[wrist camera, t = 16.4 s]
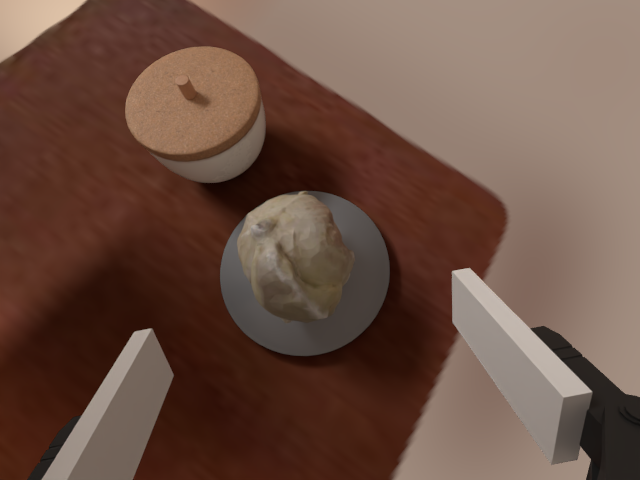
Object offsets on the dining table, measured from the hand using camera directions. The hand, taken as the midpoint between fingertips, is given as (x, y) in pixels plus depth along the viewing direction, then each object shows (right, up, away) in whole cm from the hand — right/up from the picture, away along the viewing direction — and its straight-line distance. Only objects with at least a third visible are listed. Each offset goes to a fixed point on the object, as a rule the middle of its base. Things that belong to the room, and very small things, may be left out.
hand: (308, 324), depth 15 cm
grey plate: (-1, +1, +14) cm, 14 cm away
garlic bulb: (-1, +1, +13) cm, 14 cm away
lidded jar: (-9, +12, +19) cm, 25 cm away
